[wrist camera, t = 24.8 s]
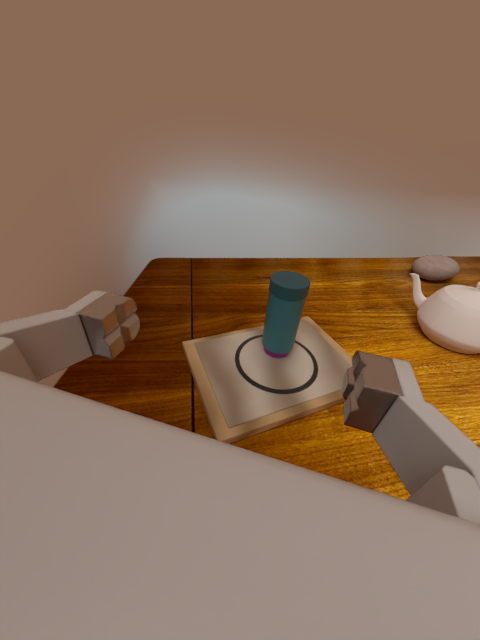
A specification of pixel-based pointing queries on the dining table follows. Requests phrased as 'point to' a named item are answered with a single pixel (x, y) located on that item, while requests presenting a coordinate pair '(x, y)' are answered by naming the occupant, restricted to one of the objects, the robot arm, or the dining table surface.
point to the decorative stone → (435, 267)
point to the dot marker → (284, 312)
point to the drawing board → (265, 379)
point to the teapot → (450, 316)
